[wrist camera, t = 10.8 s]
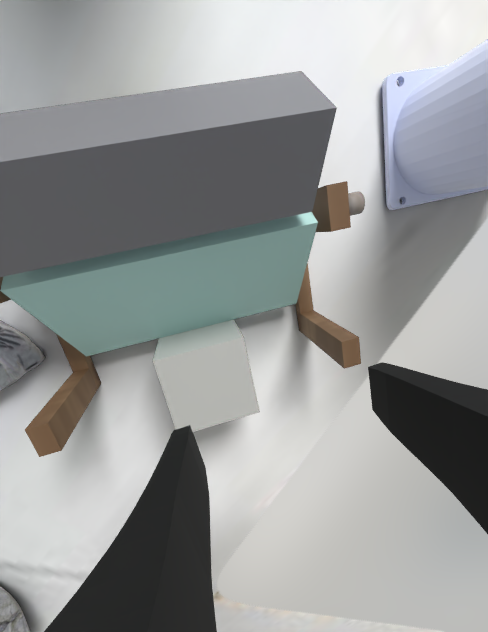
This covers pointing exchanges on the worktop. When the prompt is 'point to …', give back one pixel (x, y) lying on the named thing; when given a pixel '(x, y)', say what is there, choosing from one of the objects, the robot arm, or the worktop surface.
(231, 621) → the worktop surface
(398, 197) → the robot arm
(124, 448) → the worktop surface
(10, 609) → the fossilized seashell
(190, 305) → the trapdoor plate
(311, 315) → the walnut frame
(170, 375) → the stone block
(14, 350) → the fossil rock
